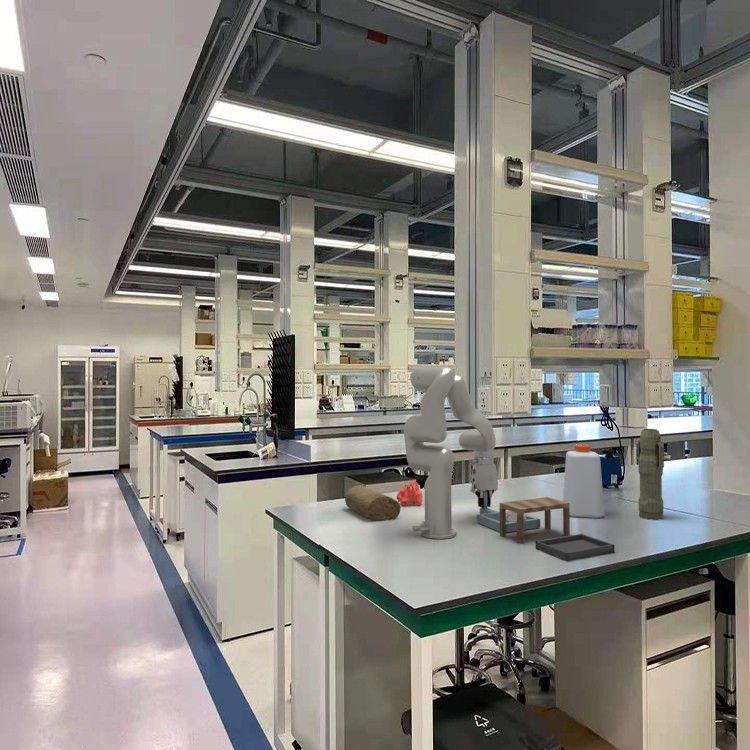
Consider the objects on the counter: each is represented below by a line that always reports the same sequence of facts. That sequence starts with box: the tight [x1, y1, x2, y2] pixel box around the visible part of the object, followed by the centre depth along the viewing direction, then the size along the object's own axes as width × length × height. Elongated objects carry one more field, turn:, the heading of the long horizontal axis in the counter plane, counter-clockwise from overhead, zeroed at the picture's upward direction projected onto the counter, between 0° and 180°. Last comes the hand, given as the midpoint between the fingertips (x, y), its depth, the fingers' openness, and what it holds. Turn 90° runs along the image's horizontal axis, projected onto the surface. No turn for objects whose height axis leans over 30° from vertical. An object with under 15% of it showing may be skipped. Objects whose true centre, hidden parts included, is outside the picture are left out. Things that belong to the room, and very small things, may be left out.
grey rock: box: [506, 510, 527, 523], centre depth 209 cm, size 8×9×10 cm
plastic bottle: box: [562, 444, 605, 519], centre depth 230 cm, size 15×15×28 cm
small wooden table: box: [499, 496, 571, 545], centre depth 199 cm, size 22×11×12 cm, turn 115°
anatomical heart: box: [396, 479, 423, 507], centre depth 247 cm, size 9×12×12 cm
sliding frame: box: [476, 490, 541, 533], centre depth 216 cm, size 24×17×10 cm
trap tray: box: [534, 533, 615, 562], centre depth 182 cm, size 20×14×2 cm
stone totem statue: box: [636, 428, 665, 521], centre depth 224 cm, size 9×12×35 cm
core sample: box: [344, 485, 401, 522], centre depth 232 cm, size 14×26×10 cm, turn 27°
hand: (484, 506), depth 226 cm, fingers closed on sliding frame, 2 cm apart
